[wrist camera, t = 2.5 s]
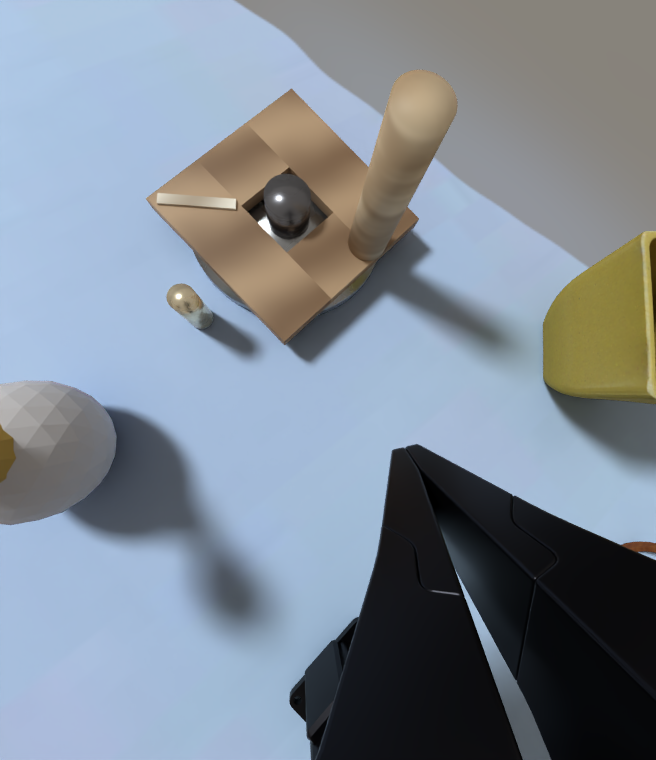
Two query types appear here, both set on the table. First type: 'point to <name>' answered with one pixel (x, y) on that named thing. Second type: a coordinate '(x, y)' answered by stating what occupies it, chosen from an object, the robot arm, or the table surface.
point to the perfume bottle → (50, 449)
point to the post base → (284, 224)
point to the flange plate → (328, 191)
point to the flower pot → (606, 328)
